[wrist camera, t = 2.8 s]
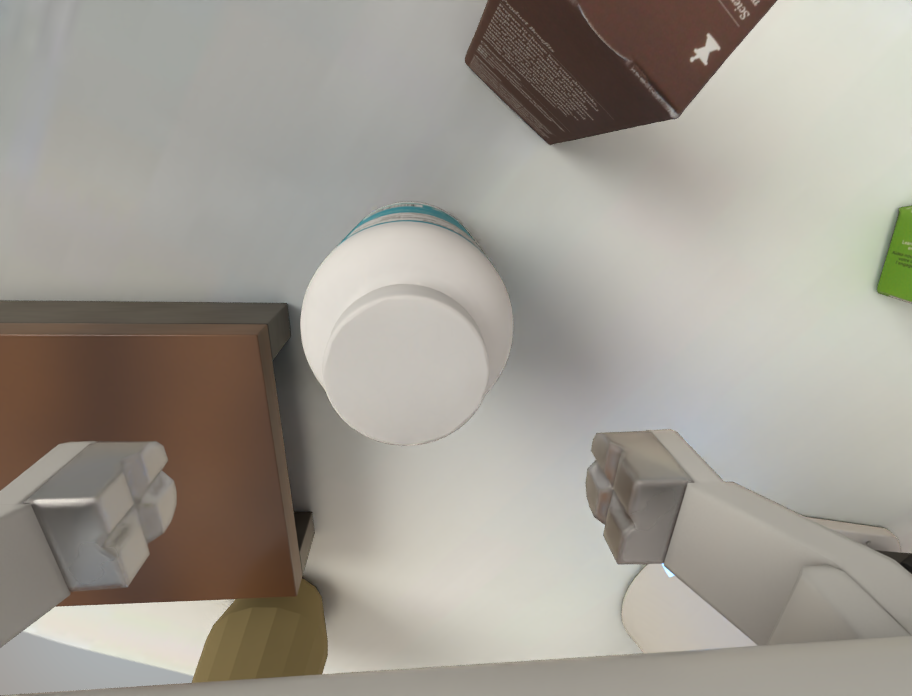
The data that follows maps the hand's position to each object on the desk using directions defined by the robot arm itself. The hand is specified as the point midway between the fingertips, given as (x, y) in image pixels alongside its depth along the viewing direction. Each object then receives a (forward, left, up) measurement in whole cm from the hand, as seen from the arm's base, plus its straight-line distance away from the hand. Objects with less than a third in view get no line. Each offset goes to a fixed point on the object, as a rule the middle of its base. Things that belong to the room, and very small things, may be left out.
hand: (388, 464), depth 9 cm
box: (-6, -10, -18) cm, 21 cm away
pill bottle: (0, 0, -18) cm, 18 cm away
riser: (+15, +11, -18) cm, 25 cm away
